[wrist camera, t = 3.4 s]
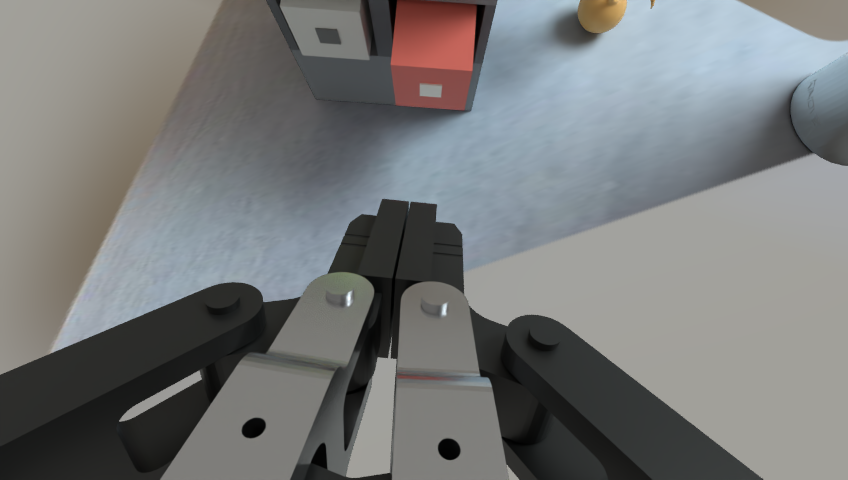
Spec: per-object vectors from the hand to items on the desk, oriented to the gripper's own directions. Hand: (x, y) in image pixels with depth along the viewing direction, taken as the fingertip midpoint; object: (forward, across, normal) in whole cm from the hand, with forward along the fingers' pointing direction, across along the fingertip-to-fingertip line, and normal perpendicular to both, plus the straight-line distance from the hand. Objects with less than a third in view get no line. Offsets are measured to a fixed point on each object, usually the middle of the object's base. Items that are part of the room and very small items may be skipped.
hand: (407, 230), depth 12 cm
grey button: (+23, +7, -3) cm, 25 cm away
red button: (+21, 0, -1) cm, 21 cm away
